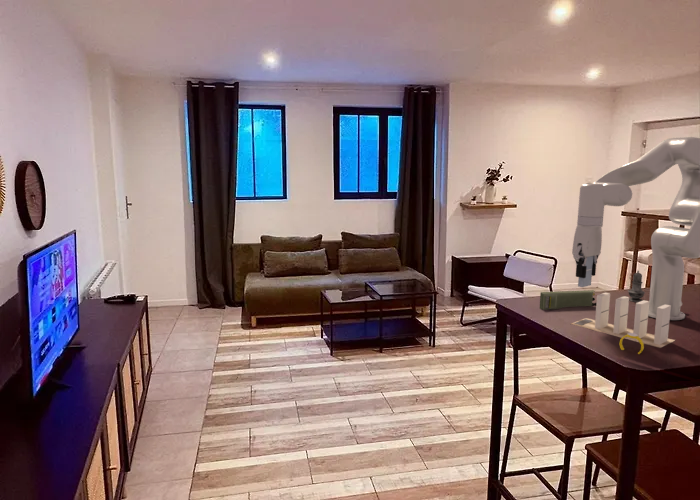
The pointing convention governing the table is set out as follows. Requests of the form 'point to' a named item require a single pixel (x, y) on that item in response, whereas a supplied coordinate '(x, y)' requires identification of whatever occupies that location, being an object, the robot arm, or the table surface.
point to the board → (609, 330)
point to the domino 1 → (586, 281)
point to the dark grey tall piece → (636, 288)
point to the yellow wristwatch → (632, 335)
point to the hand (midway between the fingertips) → (585, 275)
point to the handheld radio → (566, 299)
